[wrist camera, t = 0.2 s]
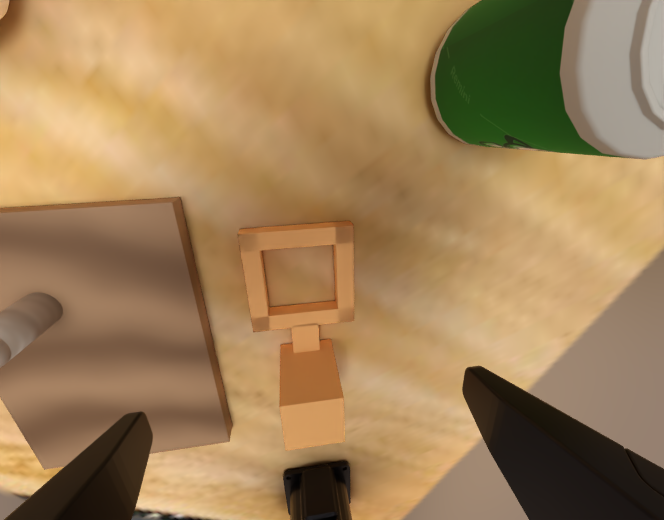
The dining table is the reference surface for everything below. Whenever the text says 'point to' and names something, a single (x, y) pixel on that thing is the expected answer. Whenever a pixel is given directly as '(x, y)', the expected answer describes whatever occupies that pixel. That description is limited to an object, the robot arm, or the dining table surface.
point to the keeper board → (105, 327)
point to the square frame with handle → (304, 330)
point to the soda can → (555, 77)
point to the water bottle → (3, 7)
